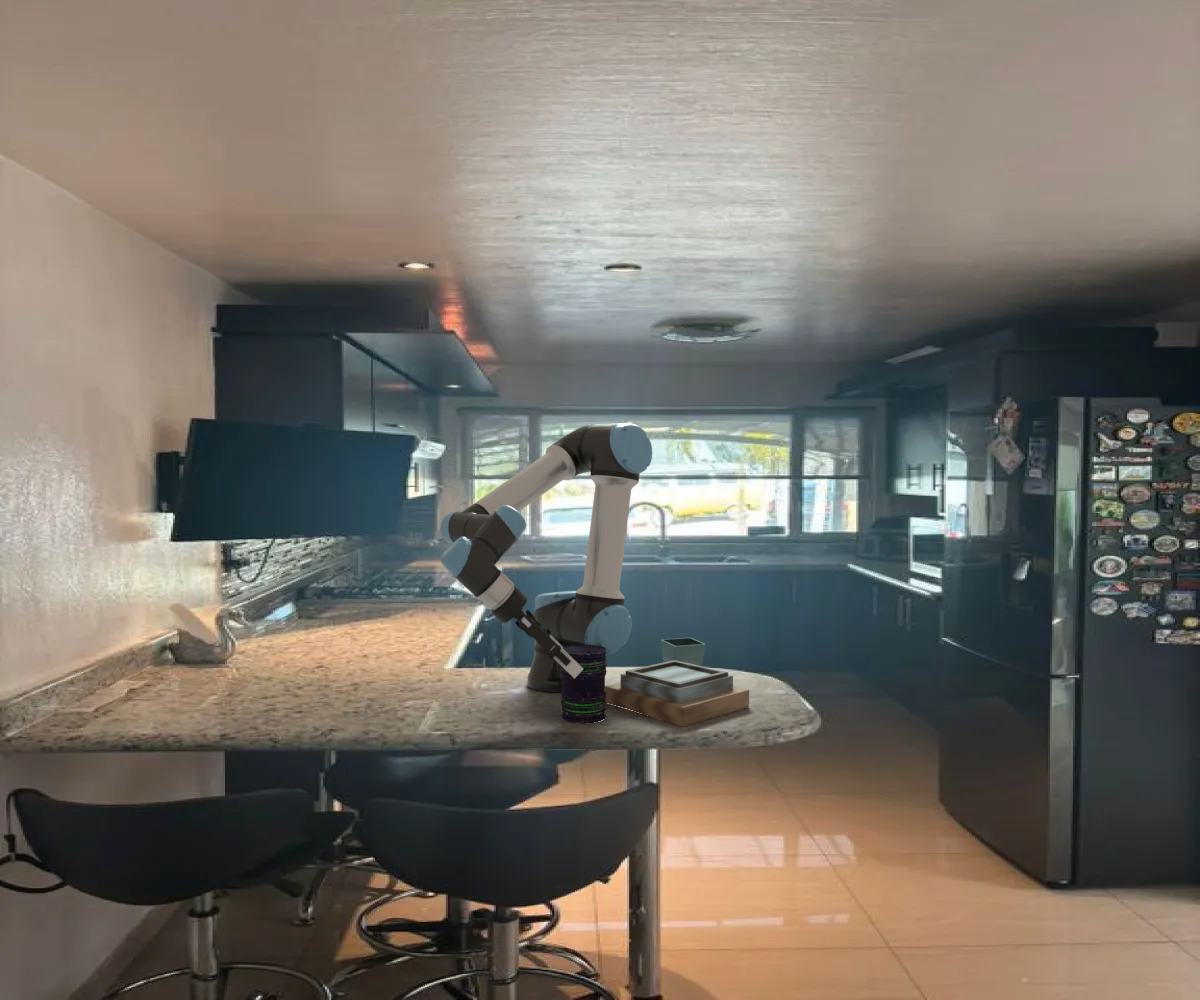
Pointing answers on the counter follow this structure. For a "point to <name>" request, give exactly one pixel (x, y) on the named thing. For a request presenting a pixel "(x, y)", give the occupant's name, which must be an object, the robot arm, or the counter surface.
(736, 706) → the tower base
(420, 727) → the counter surface
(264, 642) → the counter surface
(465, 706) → the counter surface
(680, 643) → the flower pot
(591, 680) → the dark blue cylinder
